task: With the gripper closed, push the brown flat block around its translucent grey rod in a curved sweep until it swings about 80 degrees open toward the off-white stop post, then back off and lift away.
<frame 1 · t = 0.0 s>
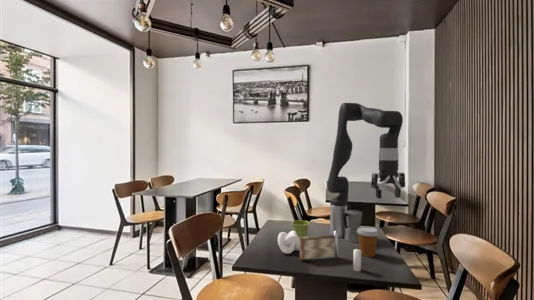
hand: (388, 198, 121), 29 cm above the table, fingers open, 8 cm apart
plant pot: (300, 238, 159), on the table
translucent grey rod: (335, 257, 133), on the table
stop post: (357, 269, 119), on the table
disposable coffee cup: (367, 254, 136), on the table
white decorative knot: (288, 251, 140), on the table
brown flat block: (317, 246, 131), point 6 cm above the table, hinge at 0.0°
coffeepot: (352, 240, 156), on the table
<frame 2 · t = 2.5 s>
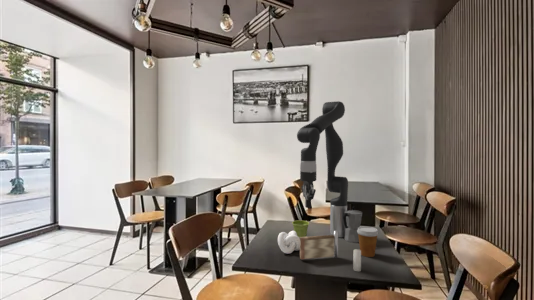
hand: (308, 207, 136), 22 cm above the table, fingers closed
nothing on the table moved.
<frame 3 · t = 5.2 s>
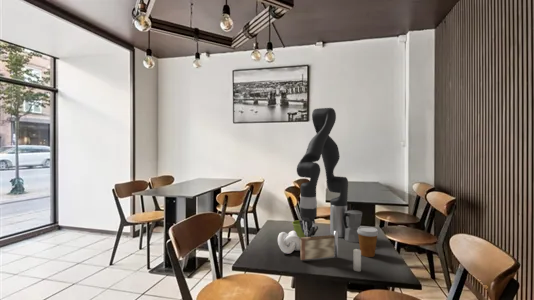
hand: (308, 243, 133), 6 cm above the table, fingers closed
brown flat block: (317, 246, 130), point 6 cm above the table, hinge at 2.4°, touching gripper
everything else where it was.
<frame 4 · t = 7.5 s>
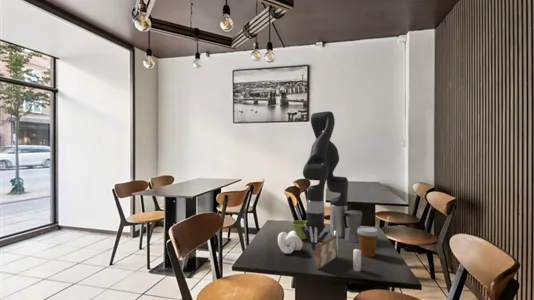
hand: (315, 250, 125), 6 cm above the table, fingers closed
brown flat block: (326, 250, 125), point 6 cm above the table, hinge at 38.1°, touching gripper
everything else where it was.
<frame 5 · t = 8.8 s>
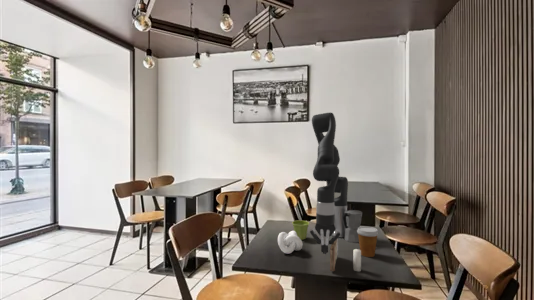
hand: (324, 253, 122), 6 cm above the table, fingers closed
brown flat block: (334, 252, 124), point 6 cm above the table, hinge at 59.6°, touching gripper
everything else where it was.
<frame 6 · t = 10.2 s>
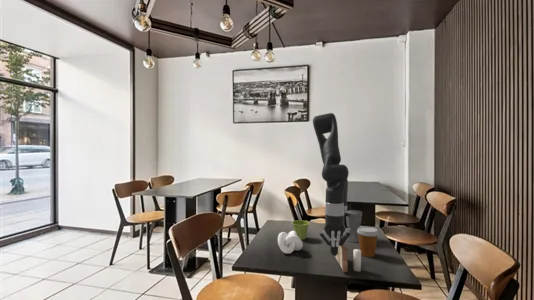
hand: (334, 255, 119), 6 cm above the table, fingers closed
brown flat block: (340, 252, 123), point 6 cm above the table, hinge at 76.8°
everything else where it was.
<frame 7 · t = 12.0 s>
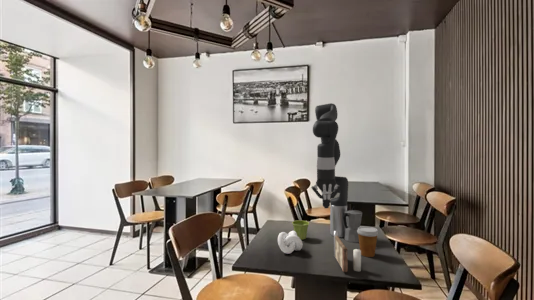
hand: (326, 207, 125), 24 cm above the table, fingers closed
nothing on the table moved.
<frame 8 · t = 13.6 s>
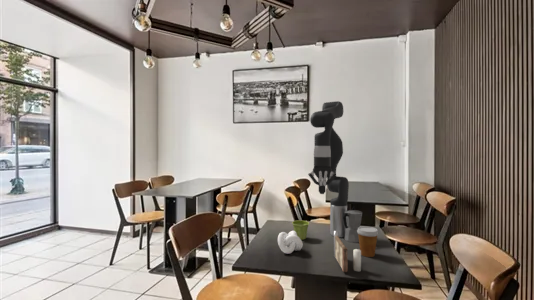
hand: (322, 193, 133), 29 cm above the table, fingers closed
nothing on the table moved.
at the end: brown flat block at +77° (first picture: +0°); disposable coffee cup moved 0.2 cm from its start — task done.
